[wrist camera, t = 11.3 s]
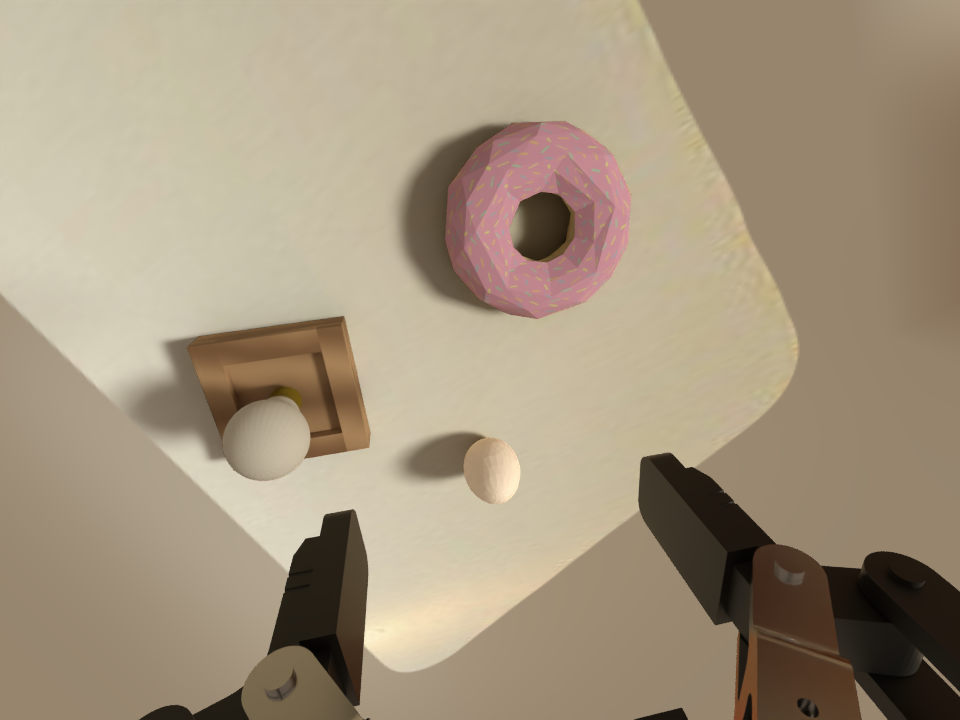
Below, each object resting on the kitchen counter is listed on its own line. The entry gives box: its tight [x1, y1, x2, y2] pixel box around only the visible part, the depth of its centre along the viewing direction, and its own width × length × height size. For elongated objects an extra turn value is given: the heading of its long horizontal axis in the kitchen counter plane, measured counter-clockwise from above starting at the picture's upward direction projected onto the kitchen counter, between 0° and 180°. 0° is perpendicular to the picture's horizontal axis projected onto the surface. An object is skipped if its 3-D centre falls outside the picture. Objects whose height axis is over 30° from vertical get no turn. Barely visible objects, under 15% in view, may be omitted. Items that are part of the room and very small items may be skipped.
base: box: [187, 316, 370, 471], centre depth 41 cm, size 12×12×2 cm
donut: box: [445, 121, 631, 319], centre depth 38 cm, size 16×15×5 cm
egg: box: [463, 438, 520, 504], centre depth 45 cm, size 5×5×8 cm
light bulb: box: [223, 387, 310, 481], centre depth 36 cm, size 6×6×10 cm
